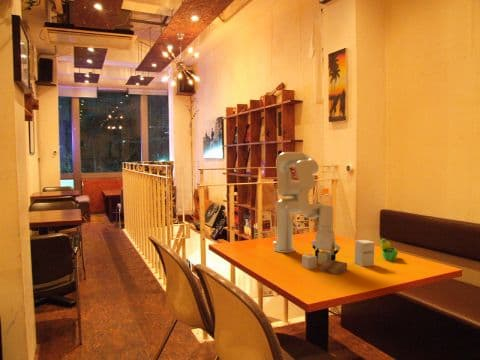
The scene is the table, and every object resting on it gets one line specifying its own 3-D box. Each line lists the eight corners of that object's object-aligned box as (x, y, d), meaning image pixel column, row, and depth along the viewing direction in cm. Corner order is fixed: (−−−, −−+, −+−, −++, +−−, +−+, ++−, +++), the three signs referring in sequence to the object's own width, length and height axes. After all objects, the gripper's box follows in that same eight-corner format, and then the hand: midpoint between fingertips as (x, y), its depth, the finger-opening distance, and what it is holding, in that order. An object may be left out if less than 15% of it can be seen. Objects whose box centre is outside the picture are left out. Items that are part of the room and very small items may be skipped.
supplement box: (362, 267, 198) (362, 243, 197) (354, 263, 205) (354, 240, 204) (374, 265, 200) (375, 242, 199) (366, 262, 207) (366, 239, 206)
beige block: (317, 263, 204) (317, 252, 204) (323, 261, 208) (323, 250, 208) (326, 265, 201) (326, 254, 200) (332, 263, 205) (332, 252, 204)
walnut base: (320, 271, 191) (320, 263, 191) (328, 267, 199) (328, 259, 199) (339, 275, 185) (339, 267, 185) (346, 270, 193) (347, 262, 193)
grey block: (301, 266, 199) (301, 255, 198) (310, 265, 201) (310, 254, 201) (308, 269, 194) (308, 257, 193) (316, 268, 196) (317, 256, 196)
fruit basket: (398, 261, 208) (398, 241, 208) (381, 260, 210) (381, 240, 209) (394, 256, 220) (394, 237, 219) (378, 255, 221) (378, 236, 221)
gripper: (308, 227, 207) (307, 258, 208) (336, 231, 194) (335, 264, 196) (315, 225, 212) (315, 255, 213) (343, 229, 200) (343, 261, 201)
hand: (325, 259), depth 204 cm, fingers open, 9 cm apart
